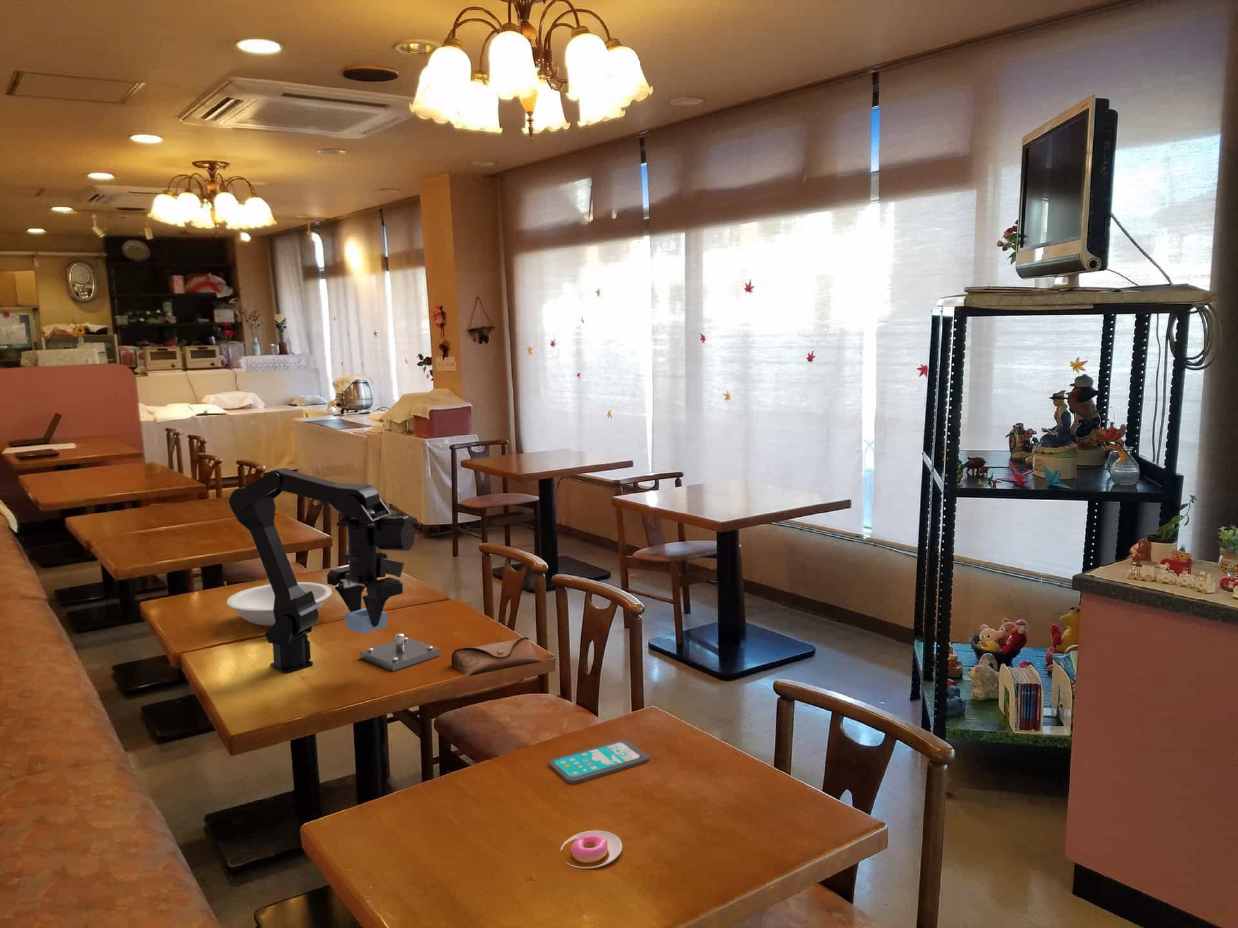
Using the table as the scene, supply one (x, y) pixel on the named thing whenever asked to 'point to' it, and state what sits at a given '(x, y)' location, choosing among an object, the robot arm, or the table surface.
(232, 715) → the table surface
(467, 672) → the sunglasses case
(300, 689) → the table surface
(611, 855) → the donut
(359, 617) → the blue square ring
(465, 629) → the table surface
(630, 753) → the smartphone
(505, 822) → the table surface
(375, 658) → the keeper plate
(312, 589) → the soup bowl
